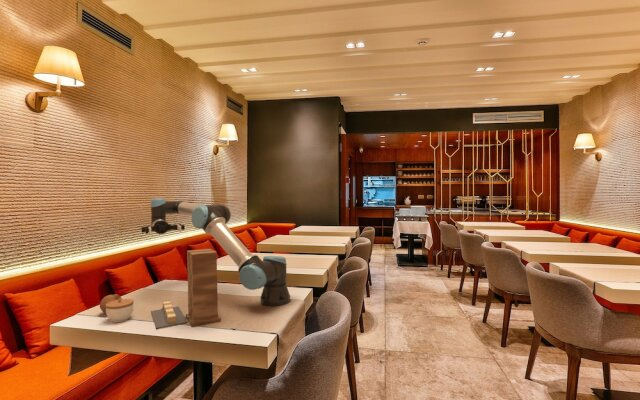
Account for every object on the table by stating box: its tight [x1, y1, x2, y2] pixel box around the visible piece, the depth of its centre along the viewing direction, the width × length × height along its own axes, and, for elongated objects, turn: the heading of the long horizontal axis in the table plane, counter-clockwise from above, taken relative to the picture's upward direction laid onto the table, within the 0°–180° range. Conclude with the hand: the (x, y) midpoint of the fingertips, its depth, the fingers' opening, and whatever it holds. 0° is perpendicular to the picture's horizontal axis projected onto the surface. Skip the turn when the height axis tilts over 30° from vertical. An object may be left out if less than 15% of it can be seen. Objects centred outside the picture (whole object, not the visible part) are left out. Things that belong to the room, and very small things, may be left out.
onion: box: [99, 293, 123, 315], centre depth 156 cm, size 10×9×10 cm
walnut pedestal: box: [185, 248, 222, 328], centre depth 147 cm, size 14×12×30 cm
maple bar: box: [162, 299, 176, 324], centre depth 152 cm, size 26×3×3 cm, turn 30°
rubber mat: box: [150, 305, 189, 330], centre depth 150 cm, size 24×12×1 cm, turn 32°
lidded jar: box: [105, 298, 134, 323], centre depth 148 cm, size 11×11×9 cm
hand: (165, 229), depth 165 cm, fingers open, 13 cm apart
